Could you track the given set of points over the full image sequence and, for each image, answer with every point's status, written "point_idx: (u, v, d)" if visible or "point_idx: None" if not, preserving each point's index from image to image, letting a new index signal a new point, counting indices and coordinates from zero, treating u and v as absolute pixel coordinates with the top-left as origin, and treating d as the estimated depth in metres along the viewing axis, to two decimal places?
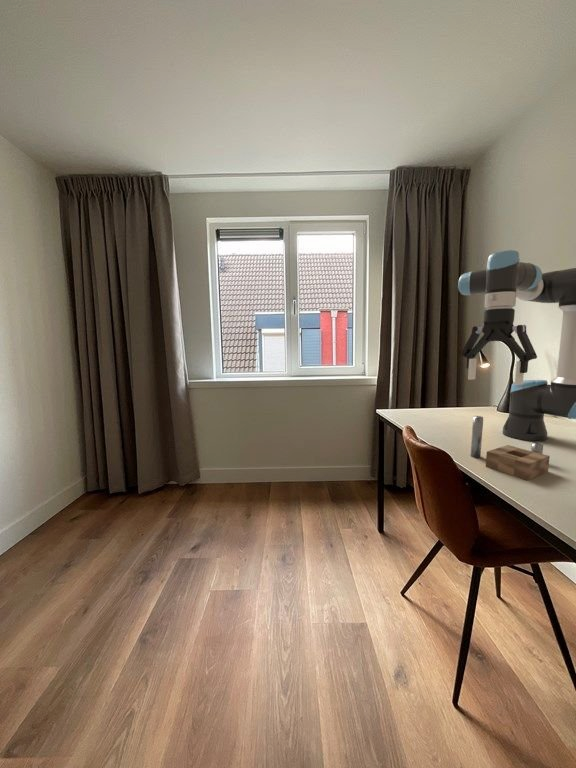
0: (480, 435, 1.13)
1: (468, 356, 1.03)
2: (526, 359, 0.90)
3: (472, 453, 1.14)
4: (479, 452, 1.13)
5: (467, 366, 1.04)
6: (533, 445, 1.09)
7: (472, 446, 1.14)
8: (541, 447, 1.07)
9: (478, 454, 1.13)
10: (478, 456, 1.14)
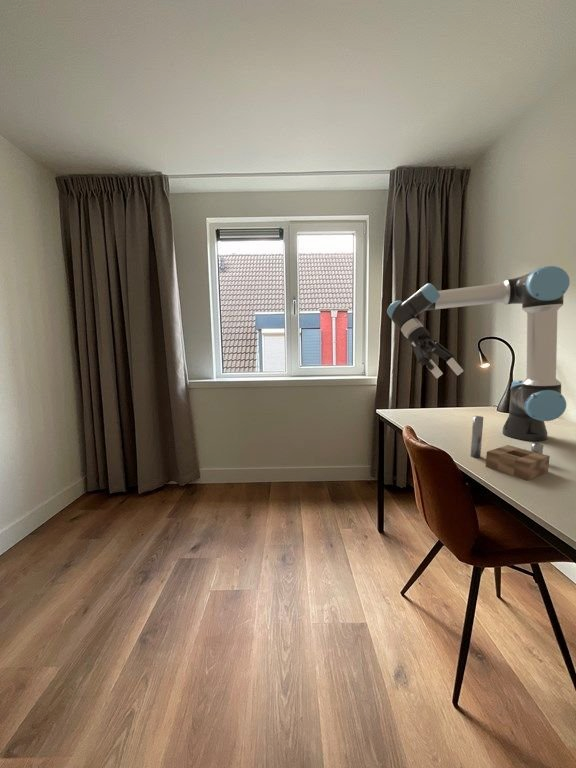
0: (480, 435, 1.13)
1: None
2: None
3: (472, 453, 1.14)
4: (479, 452, 1.13)
5: None
6: (533, 445, 1.09)
7: (472, 446, 1.14)
8: (541, 447, 1.07)
9: (478, 454, 1.13)
10: (478, 456, 1.14)
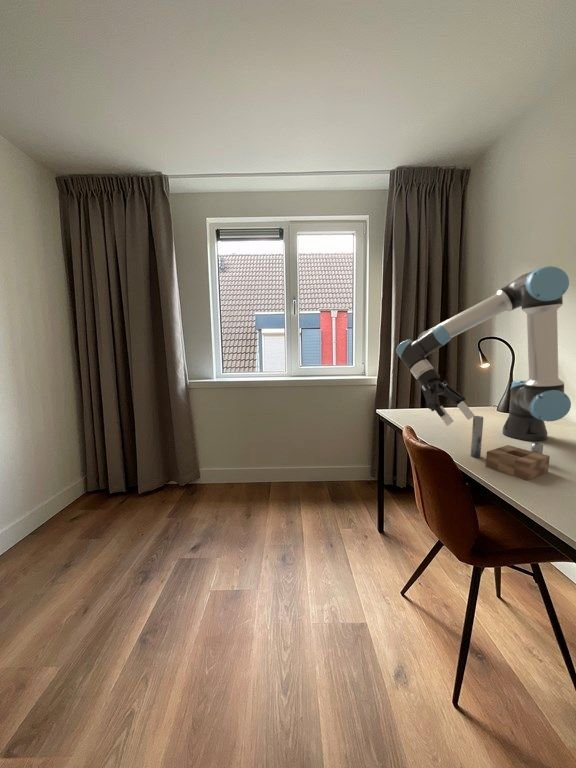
0: (480, 435, 1.13)
1: None
2: None
3: (472, 453, 1.14)
4: (479, 452, 1.13)
5: None
6: (533, 445, 1.09)
7: (472, 446, 1.14)
8: (541, 447, 1.07)
9: (478, 454, 1.13)
10: (478, 456, 1.14)
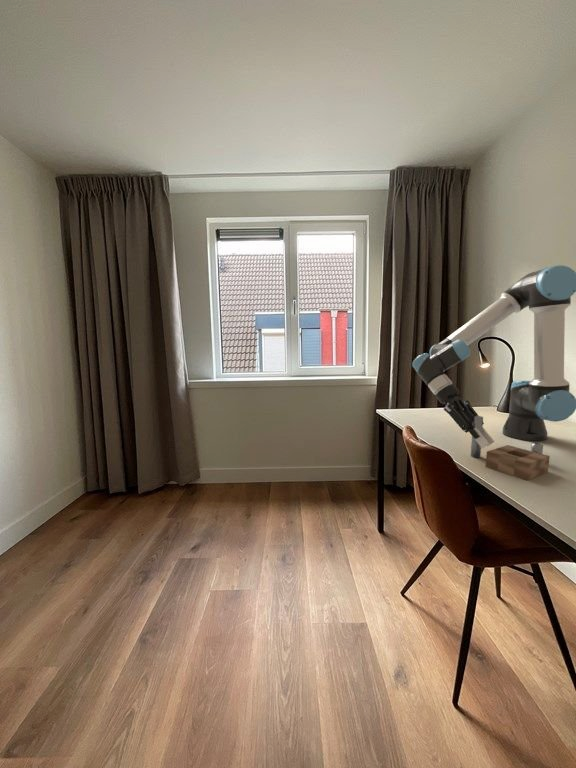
0: None
1: None
2: None
3: (472, 453, 1.14)
4: (479, 452, 1.13)
5: None
6: (533, 445, 1.09)
7: (472, 446, 1.14)
8: (541, 447, 1.07)
9: (478, 454, 1.13)
10: (478, 456, 1.14)
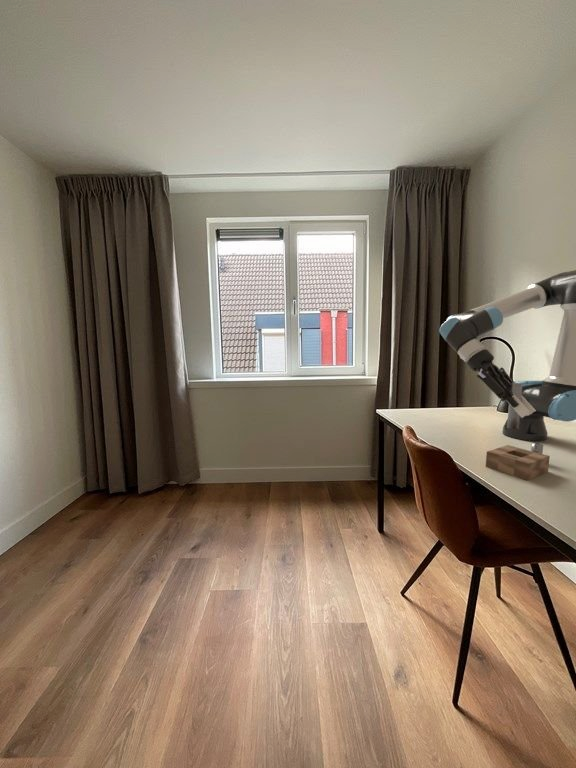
0: None
1: None
2: None
3: (509, 424, 1.03)
4: (517, 423, 1.02)
5: None
6: (533, 445, 1.09)
7: (509, 416, 1.02)
8: (541, 447, 1.07)
9: (516, 425, 1.02)
10: (516, 427, 1.02)
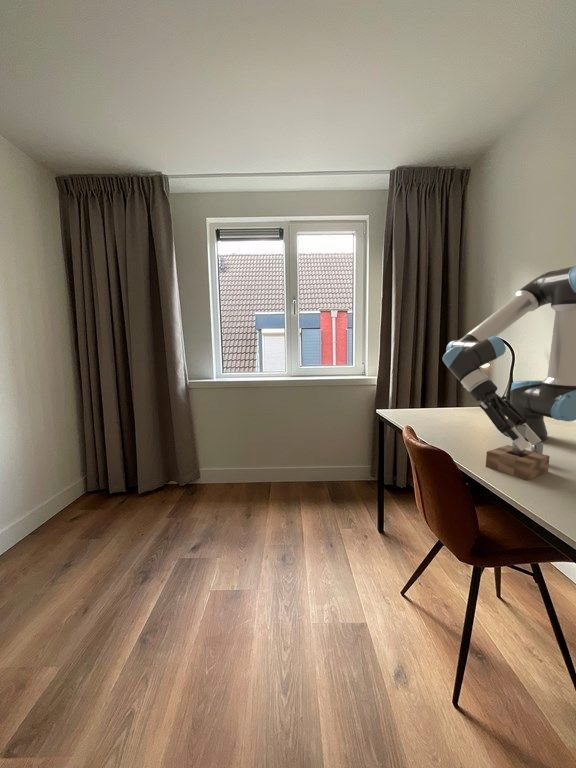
0: None
1: None
2: None
3: None
4: None
5: None
6: (533, 445, 1.09)
7: None
8: (541, 447, 1.07)
9: None
10: None
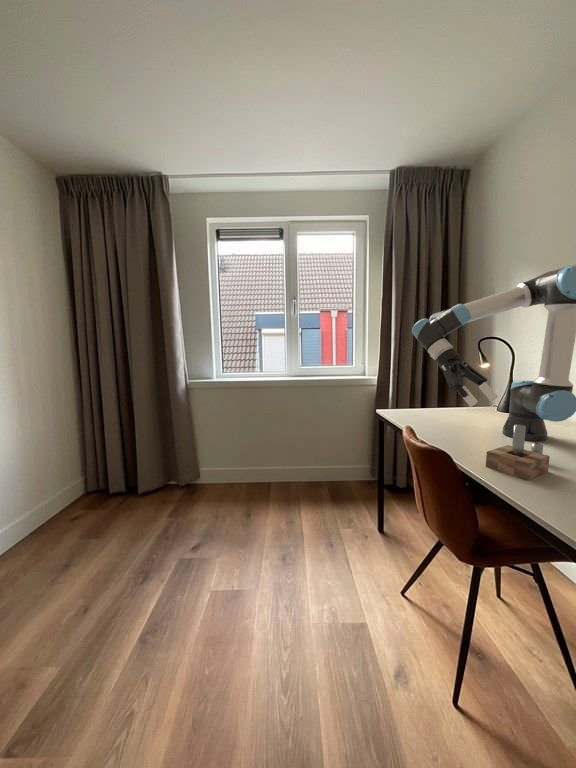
0: (522, 446, 1.01)
1: None
2: (455, 388, 1.09)
3: None
4: None
5: None
6: (533, 445, 1.09)
7: None
8: (541, 447, 1.07)
9: None
10: None
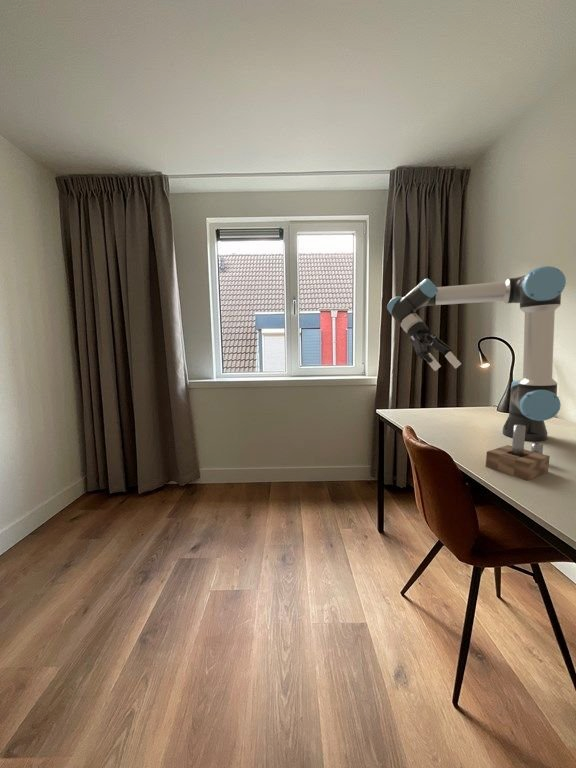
0: (522, 446, 1.01)
1: None
2: (421, 355, 1.23)
3: None
4: None
5: None
6: (533, 445, 1.09)
7: None
8: (541, 447, 1.07)
9: None
10: None
